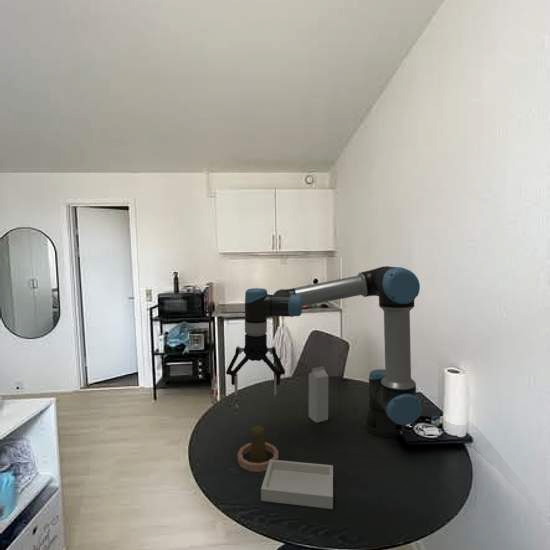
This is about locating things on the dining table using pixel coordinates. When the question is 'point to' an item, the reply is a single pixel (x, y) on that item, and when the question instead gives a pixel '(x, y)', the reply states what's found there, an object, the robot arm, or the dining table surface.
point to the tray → (298, 484)
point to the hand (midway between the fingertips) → (255, 393)
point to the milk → (318, 394)
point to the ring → (256, 466)
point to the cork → (258, 445)
